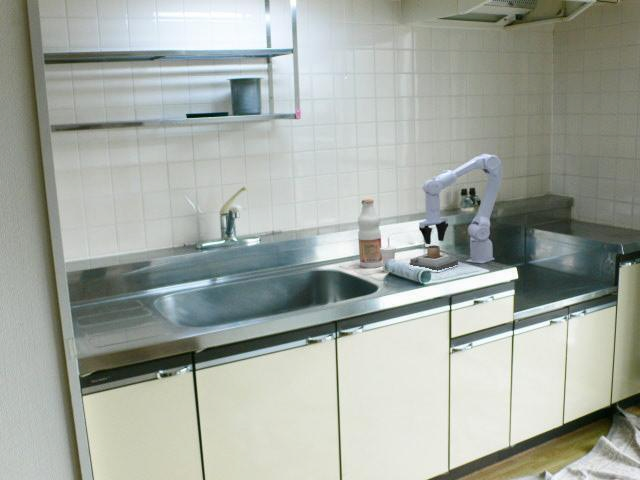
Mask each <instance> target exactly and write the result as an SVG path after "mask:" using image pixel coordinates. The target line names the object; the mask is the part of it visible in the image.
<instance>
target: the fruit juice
mask: <svg viewBox="0 0 640 480" xmlns="http://www.w3.org/2000/svg"><path fill="white" fill-rule="evenodd" d="M361 205H362V208H361V213H360V215H359V217H358V219H357V226H358V228H359V230H358V235H357V236H358V238H357V239H358V251H359V252H358V253H359V263H360V264H359V265H360V266H359V267H360V268H363V267H364V268H365V269H374V268H375V269H376V268H380V267H382V265H383V261H382V255H381V251H380V248H381V247H382V235H381V230H380V227H379V226H380V221H381V220H380V217H379V216H378V214H377V213H376V211H375V208H374V199H363V200H361Z"/></svg>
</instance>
